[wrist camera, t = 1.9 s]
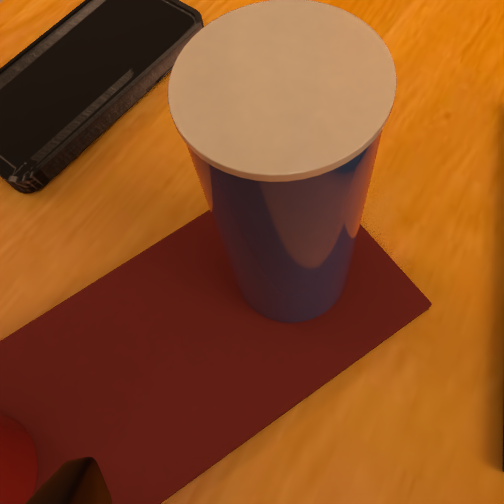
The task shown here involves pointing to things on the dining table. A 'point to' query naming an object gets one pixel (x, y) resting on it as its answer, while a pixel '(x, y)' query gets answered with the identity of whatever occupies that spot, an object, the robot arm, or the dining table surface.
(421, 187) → the dining table surface
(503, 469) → the blue mat
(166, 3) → the phone
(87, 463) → the robot arm
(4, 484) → the red canister
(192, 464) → the red mat
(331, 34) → the blue canister
